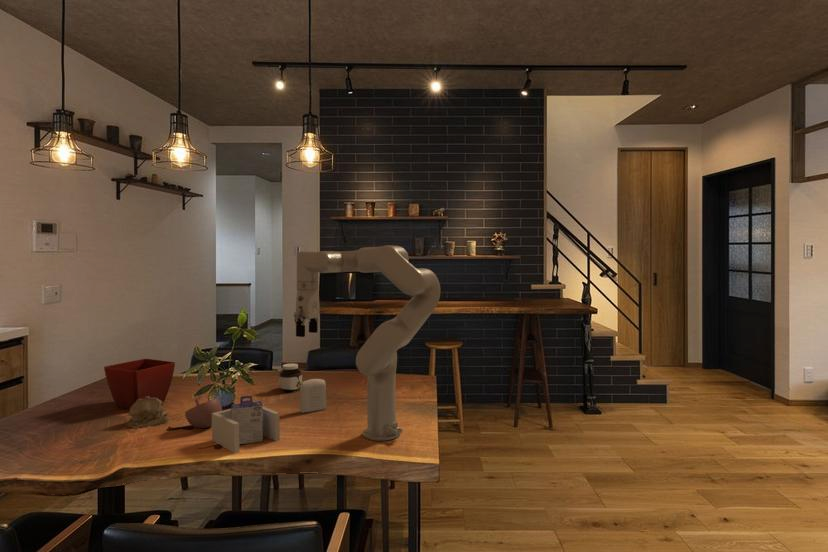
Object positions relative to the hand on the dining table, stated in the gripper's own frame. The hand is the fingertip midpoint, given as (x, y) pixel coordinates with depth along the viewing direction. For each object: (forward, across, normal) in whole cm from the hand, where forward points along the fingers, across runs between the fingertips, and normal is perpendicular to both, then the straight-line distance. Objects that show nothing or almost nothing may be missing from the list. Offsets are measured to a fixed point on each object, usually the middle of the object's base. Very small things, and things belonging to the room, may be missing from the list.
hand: (306, 334), depth 177 cm
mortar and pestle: (+34, -10, +35) cm, 50 cm away
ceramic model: (+35, -10, +58) cm, 69 cm away
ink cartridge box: (+33, -18, +12) cm, 40 cm away
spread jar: (+34, +44, +30) cm, 63 cm away
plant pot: (+35, +8, +78) cm, 86 cm away
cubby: (+33, -18, +13) cm, 40 cm away
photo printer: (+33, +17, +6) cm, 38 cm away
